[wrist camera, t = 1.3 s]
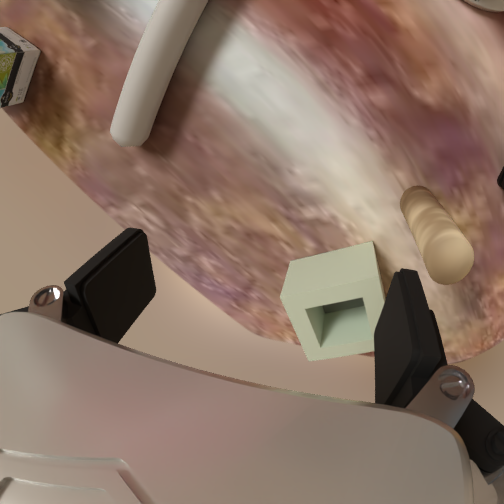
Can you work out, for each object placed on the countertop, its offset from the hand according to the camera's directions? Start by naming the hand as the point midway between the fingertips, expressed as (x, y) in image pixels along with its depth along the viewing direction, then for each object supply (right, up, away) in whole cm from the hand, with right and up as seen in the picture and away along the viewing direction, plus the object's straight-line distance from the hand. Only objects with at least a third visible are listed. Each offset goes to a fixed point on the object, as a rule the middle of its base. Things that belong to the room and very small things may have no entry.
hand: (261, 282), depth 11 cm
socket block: (+11, -3, +25) cm, 28 cm away
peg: (+17, +6, +18) cm, 26 cm away
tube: (-9, +24, +16) cm, 30 cm away
